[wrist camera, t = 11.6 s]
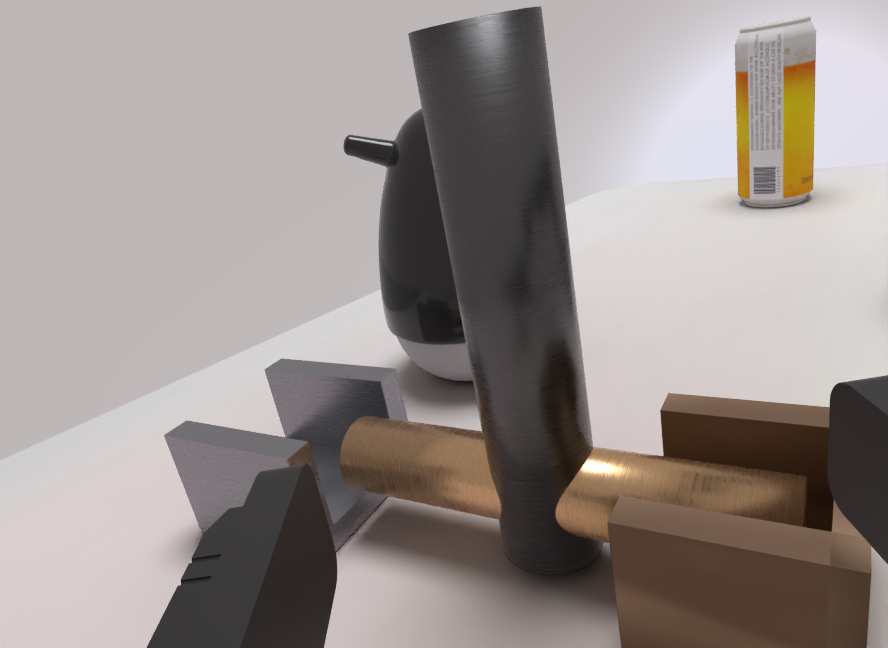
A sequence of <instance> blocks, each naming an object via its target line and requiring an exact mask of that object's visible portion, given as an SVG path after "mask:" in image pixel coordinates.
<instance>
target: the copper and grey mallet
mask: <svg viewBox="0 0 888 648" xmlns="http://www.w3.org/2000/svg"><path fill="white" fill-rule="evenodd" d="M408 35H409V41H410V46H411V52H412V57H413V62H414V68H415V73H416V79H417V84H418V89H419V94H420V100H421V105H422V111H423V116H424V121H425V127H426V132H427V138H428V143H429V148H430V154H431V159H432V164H433V170H434V175H435V180H436V186H437V191H438V196H439V202H440V207H441V213H442V218H443V223H444V229H445V234H446V239H447V245H448V250H449V255H450V261H451V266H452V272H453V277H454V282H455V288H456V293H457V298H458V304H459V309H460V314H461V320H462V325H463V330H464V336H465V341H466V347H467V352H468V357H469V363H470V368H471V373H472V379H473V384H474V389H475V395H476V400H477V406H478V411H479V416H480V422H481V427H482V431H475V430H467V429H460V428H453V427H446V426H438V425H431V424H424V423H416V422H409V421H402V420H395V419H387V418H380V417H373V416H363V417H360V418H359V419H357V420H356V421H355V422H354V423H353V424H352V425H351V426H350V427H349V429H348V431H347V432H346V434H345V437H344V439H343V442H342V446H341V451H340V470H341V474H342V477H343V479H344V481H345V482H346V484H347V485H348V486H349V487H351V488H353V489H357V490H361V491H366V492H371V493H376V494H380V495H385V496H390V497H394V498H399V499H404V500H409V501H413V502H418V503H423V504H428V505H432V506H437V507H442V508H446V509H451V510H456V511H461V512H465V513H470V514H475V515H479V516H484V517H489V518H494V519H498V520H499V523H500V529H501V534H502V540H503V545H504V549H505V552H506V555H507V556H508V558H509V559H510V560H511V561H512V562H513V563H514V564H515V565H517V566H518V567H520V568H522V569H524V570H526V571H529V572H532V573H536V574H543V575H558V574H565V573H569V572H573V571H576V570H578V569H580V568H582V567H584V566H586V565H587V564H589V563H590V562H591V561H593V560H594V559H595V558H596V556H597V555H598V554H599V552H600V551H601V549H602V546H603V542H607V543H610V542H609V533H608V524H607V522H608V520H609V517H610V515H611V513H612V511H613V509H614V507H615V505H616V503H617V501H618V499H619V496H626V497H632V498H638V499H644V500H649V501H655V502H661V503H667V504H673V505H678V506H684V507H690V508H696V509H702V510H707V511H713V512H719V513H725V514H730V515H736V516H742V517H748V518H754V519H759V520H765V521H771V522H777V523H783V524H788V525H794V526H800V527H806V524H807V497H808V483H807V476H802V475H795V474H788V473H780V472H773V471H766V470H759V469H751V468H744V467H737V466H729V465H722V464H715V463H708V462H700V461H693V460H686V459H678V458H671V457H664V456H657V455H649V454H642V453H635V452H628V451H620V450H613V449H606V448H598V447H593V442H592V434H591V425H590V417H589V408H588V400H587V391H586V383H585V374H584V366H583V357H582V349H581V340H580V332H579V323H578V315H577V306H576V298H575V289H574V281H573V272H572V264H571V255H570V247H569V238H568V230H567V221H566V213H565V205H564V196H563V188H562V179H561V171H560V162H559V154H558V146H557V137H556V128H555V120H554V111H553V103H552V94H551V86H550V77H549V70H548V60H547V52H546V43H545V35H544V26H543V18H542V9H541V7H531V8H524V9H518V10H512V11H506V12H501V13H495V14H490V15H485V16H480V17H475V18H470V19H465V20H460V21H456V22H451V23H446V24H442V25H438V26H433V27H429V28H426V29H422V30H418V31H415V32H411V33H409V34H408Z"/></svg>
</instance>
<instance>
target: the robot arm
mask: <svg viewBox="0 0 888 648" xmlns="http://www.w3.org/2000/svg"><path fill="white" fill-rule="evenodd" d="M827 475H828V482H829V486H830V490H831V493H832V496H833V498H834V500H835V502H836V504H837V506H838V508H839V509H840V511H841V512H842V514H843V515H844V516H845V517H846V518H847V519H848V521H849V522H850V523H851V524H852V525H853V526H854V527H855V528H856V529H857V531H858V532H859V533H860V534H861V535H862V536H863V537H864V538H865V539H866V541H867V542H868V543H869V544H870V545H871V546H872V547H873V548H874V549H875V551H876V552H877V553H878V554H879V555H880V556H881V557H882V558H883V559H884V561H885V562H886V563H887V564H888V375H887V376H881V377H874V378H868V379H862V380H855V381H849V382H842V383H838V384H836V385H835V386H834V388H833V390H832V392H831V396H830V413H829V439H828V466H827ZM336 583H337V559H336V551H335V546H334V542H333V538H332V535H331V531H330V528H329V524H328V521H327V517H326V514H325V510H324V507H323V503H322V500H321V496H320V493H319V490H318V486H317V483H316V479H315V476H314V473H313V471H312V469H311V467H310V466H309V465H307V464H304V465H297V466H291V467H284V468H278V469H271V470H265V471H261V472H259V473H258V474H257V476H256V478H255V480H254V483H253V485H252V487H251V489H250V492H249V494H248V496H247V498H246V501H245V503H244V505H243V506H242V507H235V508H229V509H228V510H227V511H226V512H225V513H224V514H223V515H222V516H221V517H220V518H219V519H218V520H217V521H216V522H215V523H214V524H213V525H212V526H211V527H210V528H209V529H208V530H207V531H206V532H205V533H204V535H203V537H202V539H201V541H200V543H199V545H198V547H197V549H196V551H195V553H194V555H193V557H192V563H190V564H189V565H188V567H187V569H186V571H185V573H184V575H183V577H182V579H181V585H180V586H178V587H177V589H176V591H175V592H174V594H173V596H172V598H171V600H170V602H169V604H168V606H167V608H166V610H165V612H164V614H163V616H162V618H161V620H160V622H159V624H158V626H157V628H156V630H155V632H154V634H153V636H152V638H151V640H150V642H149V644H148V646H147V648H324V644H325V639H326V634H327V629H328V624H329V619H330V614H331V609H332V604H333V599H334V594H335V589H336Z"/></svg>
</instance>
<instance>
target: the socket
mask: <svg viewBox="0 0 888 648" xmlns="http://www.w3.org/2000/svg"><path fill="white" fill-rule="evenodd" d="M660 411H661V425H662V438H663V452H664V457H671V458H678V459H686V460H693V461H700V462H708V463H715V464H722V465H729V466H737V467H744V468H751V469H759V470H766V471H773V472H780V473H788V474H795V475H802V476H807V483H808V497H807V524H806V527H800V526H794V525H788V524H783V523H777V522H771V521H765V520H759V519H754V518H748V517H742V516H736V515H730V514H725V513H719V512H713V511H707V510H702V509H696V508H690V507H684V506H678V505H673V504H667V503H661V502H655V501H649V500H644V499H638V498H632V497H626V496H619V499H618V501H617V503H616V505H615V507H614V509H613V511H612V513H611V515H610V517H609V520H608V522H607V524H608V533H609V542H610V551H611V559H612V568H613V577H614V586H615V594H616V603H617V612H618V621H619V630H620V638H621V647H622V648H866V644H867V629H868V614H869V598H870V583H871V545H870V544H869V543H868V542H867V541H866V539H865V538H864V537H863V536H862V535H861V534H860V533H859V532H858V531H857V529H856V528H855V527H854V526H853V525H852V524H851V523H850V522H849V521H848V519H847V518H846V517H845V516H844V515H843V514H842V512H841V511H840V509H839V508H838V506H837V504H836V502H835V500H834V498H833V496H832V493H831V490H830V486H829V482H828V475H827V466H828V439H829V413H830V407H818V406H807V405H796V404H785V403H773V402H762V401H751V400H740V399H729V398H717V397H706V396H695V395H684V394H672V393H668V395H667V398H666V400H665V402H664V404H663V406H662V408H661V410H660Z"/></svg>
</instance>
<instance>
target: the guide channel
mask: <svg viewBox="0 0 888 648" xmlns="http://www.w3.org/2000/svg"><path fill="white" fill-rule="evenodd" d="M265 373H266V376H267V379H268V382H269V385H270V389H271V392H272V395H273V398H274V401H275V405H276V408H277V411H278V414H279V417H280V421H281V424H282V427H283V430H284V434H285V437H286V438H285V437H279V436H273V435H267V434H261V433H256V432H250V431H244V430H238V429H232V428H227V427H221V426H215V425H209V424H204V423H198V422H192V421H185V422H184V423H182V424H181V425H179V426H178V427H176V428H175V429H173V430H172V431H170V432H169V433H167V434H165V435H164V437H165V439H166V442H167V444H168V447H169V450H170V452H171V455H172V457H173V460H174V462H175V465H176V468H177V470H178V473H179V475H180V478H181V480H182V483H183V486H184V488H185V491H186V493H187V496H188V498H189V501H190V504H191V506H192V509H193V511H194V514H195V516H196V519H197V522H198V524H199V527H200V529H201V532H204V533H205V532H206V531H207V530H208V529H209V528H210V527H211V526H212V525H213V524H214V523H215V522H216V521H217V520H218V519H219V518H220V517H221V516H222V515H223V514H224V513H225V512H226V511H227V510H228V509H229V508H235V507H242V506H243V505H244V503H245V501H246V498H247V496H248V494H249V492H250V489H251V487H252V485H253V483H254V480H255V478H256V476H257V474H258V473H259V472H261V471H265V470H271V469H278V468H284V467H291V466H297V465H304V464H307V465H309V466H310V467H311V469H312V471H313V473H314V476H315V479H316V483H317V486H318V490H319V493H320V496H321V500H322V503H323V507H324V510H325V514H326V517H327V521H328V524H329V528H330V531H331V535H332V538H333V542H334V546H335V551H337V550H338V549H339V548H340V547H341V546H342V545H343V544H344V543H345V542H346V540H347V539H348V538H349V537H350V536H351V535H352V534H353V533H354V532H355V531H356V530H357V529H358V527H359V526H360V525H361V524H362V523H363V522H364V521H365V520H366V519H367V518H368V517H369V516H370V514H371V513H372V512H373V511H374V510H375V509H376V508H377V507H378V506H379V505H380V504H381V502H382V501H383V500H384V499H385V498H386V497H387V496H385V495H380V494H376V493H371V492H366V491H361V490H357V489H353V488H351V487H349V486H348V485H347V484H346V482H345V481H344V479H343V477H342V474H341V470H340V451H341V446H342V442H343V439H344V437H345V434H346V432H347V431H348V429H349V427H350V426H351V425H352V424H353V423H354V422H355V421H356V420H357V419H359V418H360V417H363V416H373V417H380V418H387V419H395V420H402V421H408V419H407V415H406V411H405V407H404V402H403V398H402V394H401V389H400V385H399V381H398V376H397V372H396V369H391V368H380V367H369V366H358V365H346V364H335V363H324V362H313V361H302V360H290V359H280V360H279V361H277V362H276V363H274V364H272V365H271V366H269V367H268V368H266V369H265Z"/></svg>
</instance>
